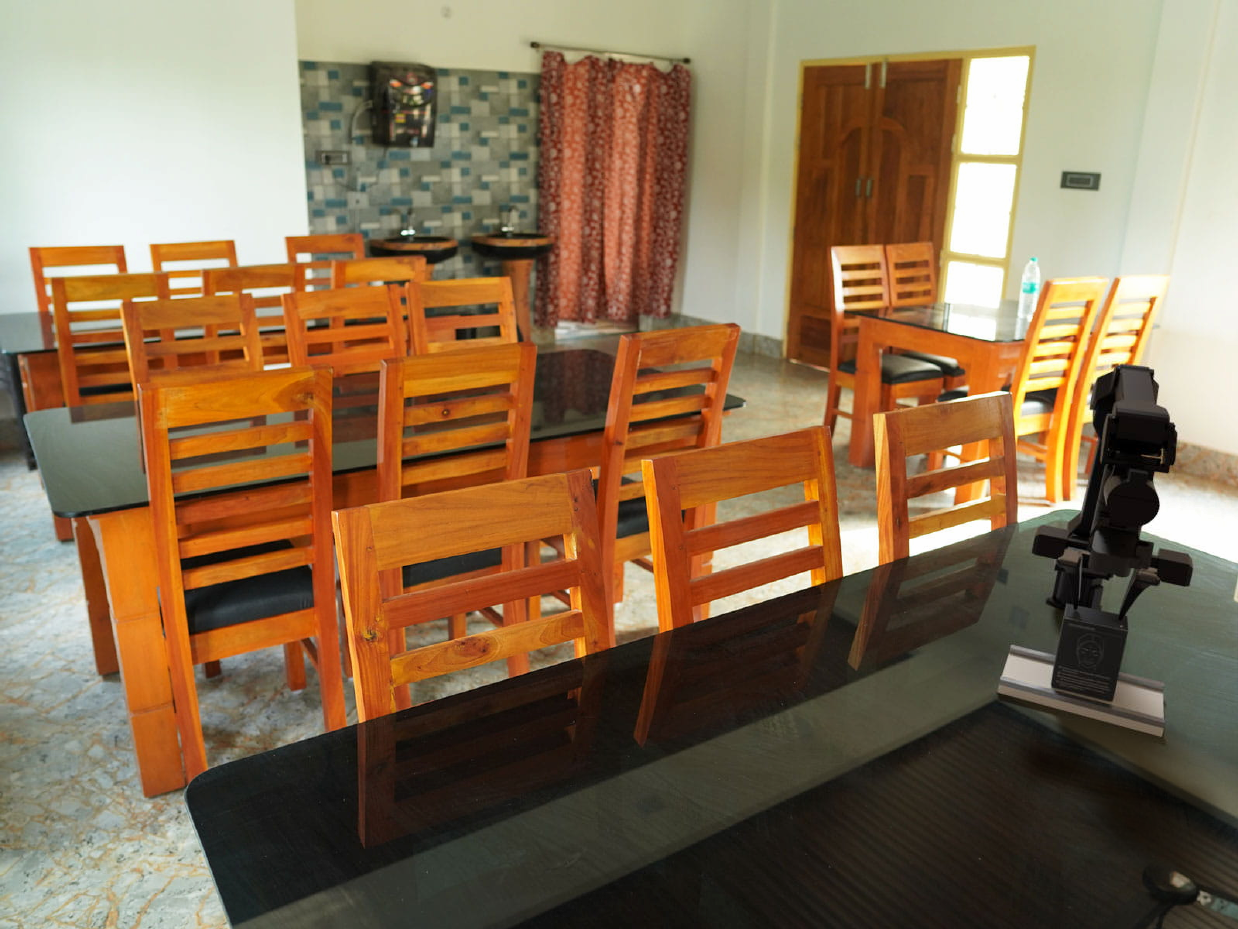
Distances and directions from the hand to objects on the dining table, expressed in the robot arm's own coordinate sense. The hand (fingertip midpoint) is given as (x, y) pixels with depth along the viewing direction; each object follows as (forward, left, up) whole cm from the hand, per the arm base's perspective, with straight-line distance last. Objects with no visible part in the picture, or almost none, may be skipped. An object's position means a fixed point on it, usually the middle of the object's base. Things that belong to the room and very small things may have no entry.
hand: (1097, 614), depth 133 cm
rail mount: (0, 0, -12) cm, 12 cm away
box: (0, 0, -11) cm, 11 cm away
